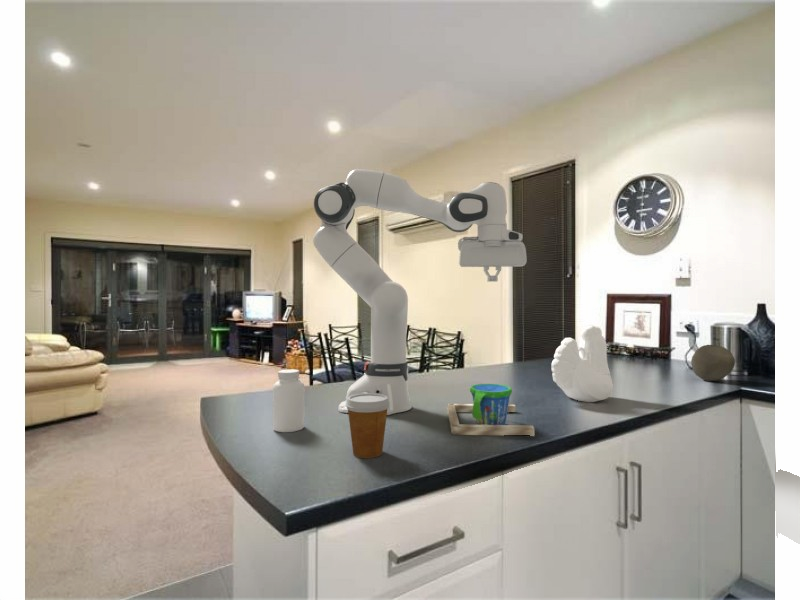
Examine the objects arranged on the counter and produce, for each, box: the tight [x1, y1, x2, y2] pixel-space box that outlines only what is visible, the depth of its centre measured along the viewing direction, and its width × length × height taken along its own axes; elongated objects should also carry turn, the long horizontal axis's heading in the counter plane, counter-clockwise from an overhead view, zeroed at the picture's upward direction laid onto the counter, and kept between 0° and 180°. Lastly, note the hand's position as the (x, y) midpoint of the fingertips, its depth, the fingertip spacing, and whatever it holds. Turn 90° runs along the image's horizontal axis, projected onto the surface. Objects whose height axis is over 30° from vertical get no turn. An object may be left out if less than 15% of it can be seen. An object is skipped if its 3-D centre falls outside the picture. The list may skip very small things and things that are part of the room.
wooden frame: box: [446, 403, 535, 437], centre depth 116 cm, size 20×24×2 cm
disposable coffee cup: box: [346, 394, 390, 459], centre depth 92 cm, size 10×10×12 cm
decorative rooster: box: [550, 325, 614, 403], centre depth 142 cm, size 25×16×25 cm, turn 109°
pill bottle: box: [272, 368, 306, 433], centre depth 110 cm, size 8×8×15 cm
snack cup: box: [469, 383, 513, 425], centre depth 113 cm, size 16×10×10 cm
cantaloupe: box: [690, 344, 736, 382], centre depth 176 cm, size 14×14×15 cm
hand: (492, 281), depth 130 cm, fingers closed
